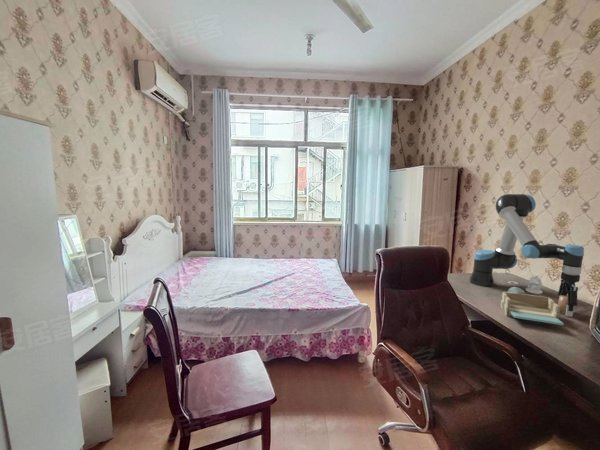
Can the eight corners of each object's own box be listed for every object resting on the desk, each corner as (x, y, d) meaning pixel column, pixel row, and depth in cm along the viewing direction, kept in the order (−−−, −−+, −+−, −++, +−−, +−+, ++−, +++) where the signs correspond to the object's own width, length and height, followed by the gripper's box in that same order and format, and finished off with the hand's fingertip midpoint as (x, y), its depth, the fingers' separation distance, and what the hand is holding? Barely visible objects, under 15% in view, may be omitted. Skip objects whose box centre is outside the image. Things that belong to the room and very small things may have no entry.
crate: (500, 306, 171) (502, 291, 170) (547, 312, 163) (549, 297, 161) (506, 316, 158) (508, 300, 157) (557, 324, 150) (560, 307, 149)
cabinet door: (509, 310, 157) (514, 315, 149) (556, 317, 150) (564, 323, 142) (509, 312, 157) (514, 317, 149) (556, 319, 150) (563, 325, 142)
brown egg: (555, 309, 167) (557, 294, 166) (569, 311, 165) (571, 296, 163) (559, 314, 161) (562, 298, 160) (574, 316, 159) (577, 300, 158)
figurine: (522, 287, 203) (524, 272, 201) (539, 289, 199) (541, 274, 198) (527, 293, 192) (529, 277, 190) (545, 295, 188) (547, 279, 187)
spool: (530, 302, 168) (522, 285, 172) (511, 306, 173) (503, 289, 176) (529, 300, 179) (521, 284, 183) (511, 304, 184) (503, 288, 187)
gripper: (554, 267, 171) (548, 304, 174) (571, 278, 151) (564, 319, 154) (570, 268, 168) (564, 306, 171) (590, 280, 148) (583, 322, 152)
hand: (564, 312), depth 163 cm, fingers open, 9 cm apart
